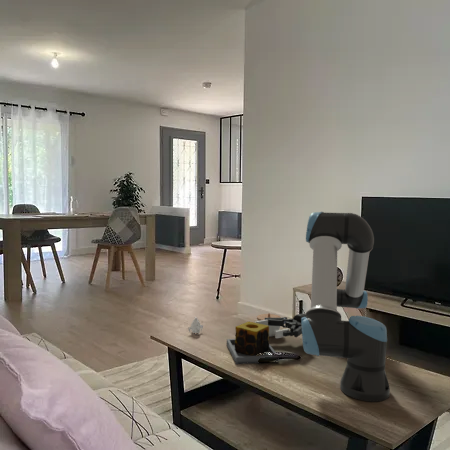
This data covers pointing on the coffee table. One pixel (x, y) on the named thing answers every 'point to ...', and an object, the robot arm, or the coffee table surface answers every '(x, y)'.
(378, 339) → the robot arm
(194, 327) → the rocket toy
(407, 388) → the coffee table surface
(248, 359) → the tray
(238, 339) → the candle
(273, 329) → the lidded jar
